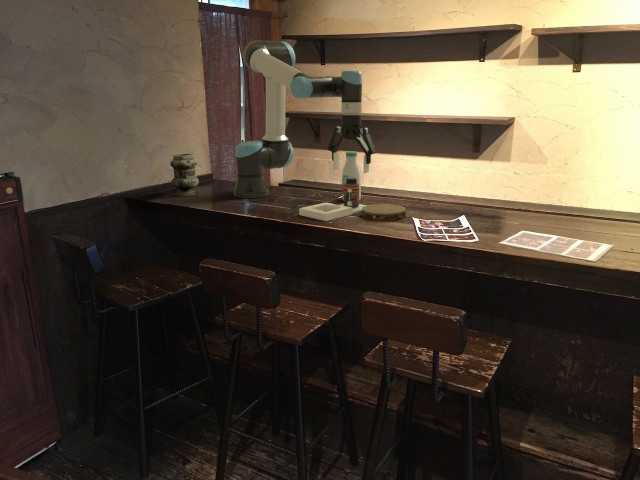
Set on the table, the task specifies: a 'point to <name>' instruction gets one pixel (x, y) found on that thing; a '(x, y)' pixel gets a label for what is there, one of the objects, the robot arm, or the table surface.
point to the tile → (357, 208)
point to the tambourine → (383, 212)
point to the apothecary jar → (184, 173)
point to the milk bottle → (351, 171)
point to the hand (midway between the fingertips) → (350, 171)
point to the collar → (331, 211)
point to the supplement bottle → (351, 193)
